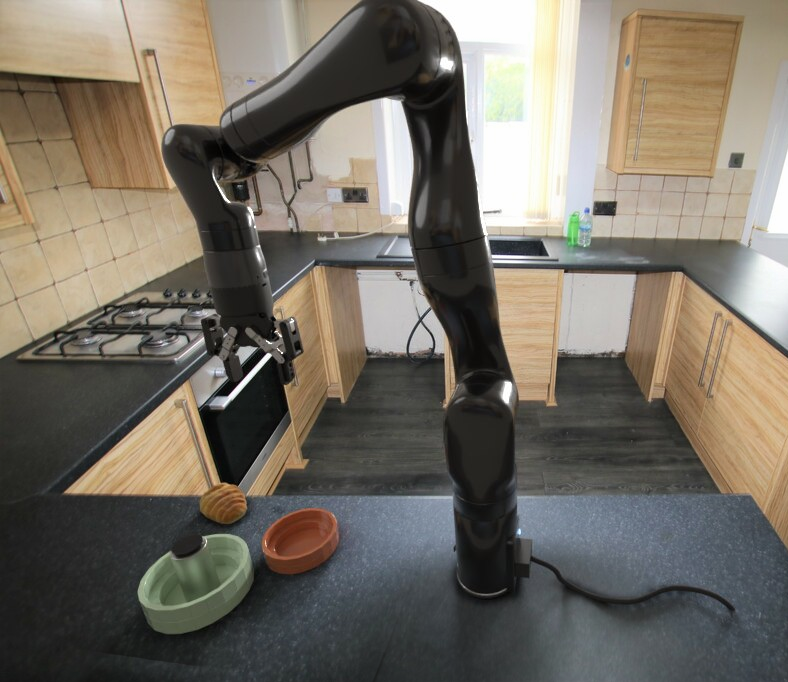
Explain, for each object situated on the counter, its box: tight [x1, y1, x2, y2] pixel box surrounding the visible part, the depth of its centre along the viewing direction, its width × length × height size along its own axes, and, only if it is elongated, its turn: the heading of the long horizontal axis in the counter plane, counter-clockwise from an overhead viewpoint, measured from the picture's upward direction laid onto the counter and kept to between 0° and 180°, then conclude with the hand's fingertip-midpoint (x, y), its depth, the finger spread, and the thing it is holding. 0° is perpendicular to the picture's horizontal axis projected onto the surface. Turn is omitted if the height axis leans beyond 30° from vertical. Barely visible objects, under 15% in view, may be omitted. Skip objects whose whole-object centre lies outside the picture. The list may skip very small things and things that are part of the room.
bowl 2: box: [261, 507, 340, 576], centre depth 77 cm, size 11×11×4 cm
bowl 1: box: [137, 533, 255, 635], centre depth 69 cm, size 13×14×5 cm
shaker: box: [169, 533, 220, 602], centre depth 68 cm, size 4×4×9 cm
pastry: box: [198, 482, 248, 525], centre depth 85 cm, size 9×7×4 cm
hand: (262, 381), depth 73 cm, fingers open, 8 cm apart
